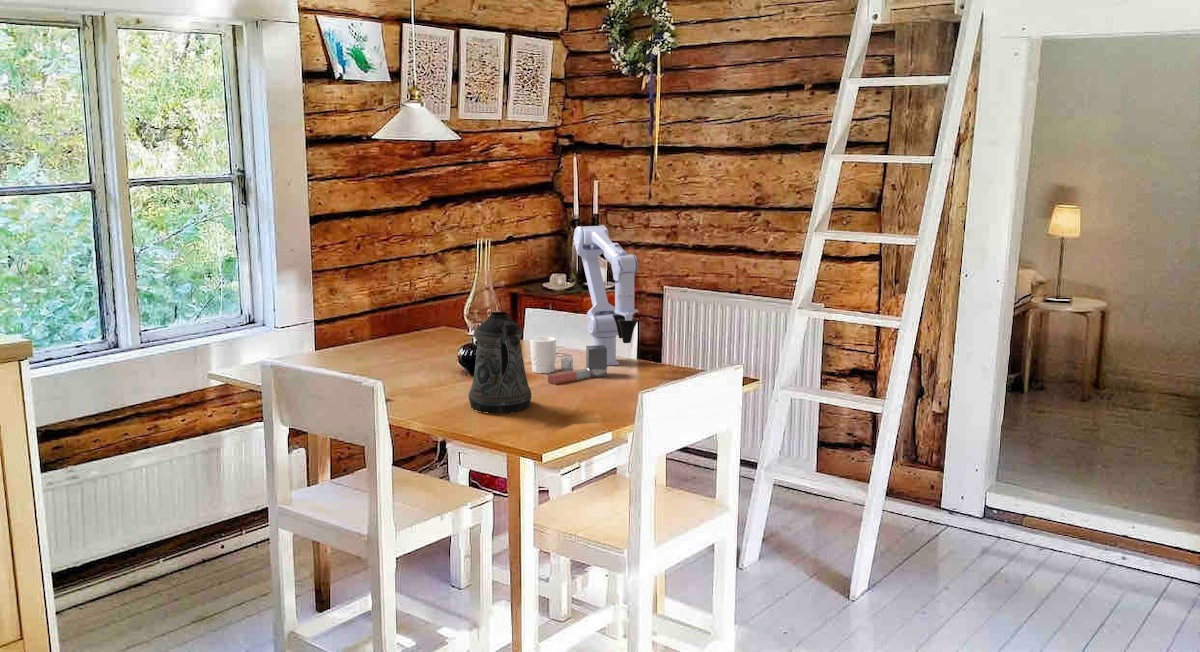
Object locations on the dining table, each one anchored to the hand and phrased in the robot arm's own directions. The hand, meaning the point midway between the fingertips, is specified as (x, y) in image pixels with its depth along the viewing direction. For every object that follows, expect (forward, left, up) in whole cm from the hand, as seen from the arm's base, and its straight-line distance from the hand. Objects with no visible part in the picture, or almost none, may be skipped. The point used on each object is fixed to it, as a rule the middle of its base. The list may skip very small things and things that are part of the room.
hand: (624, 340), depth 299 cm
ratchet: (+5, -15, -10) cm, 19 cm away
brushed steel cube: (+2, -9, -7) cm, 12 cm away
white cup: (-6, -24, -10) cm, 27 cm away
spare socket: (-4, -17, -10) cm, 20 cm away
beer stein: (+34, -38, -10) cm, 52 cm away
